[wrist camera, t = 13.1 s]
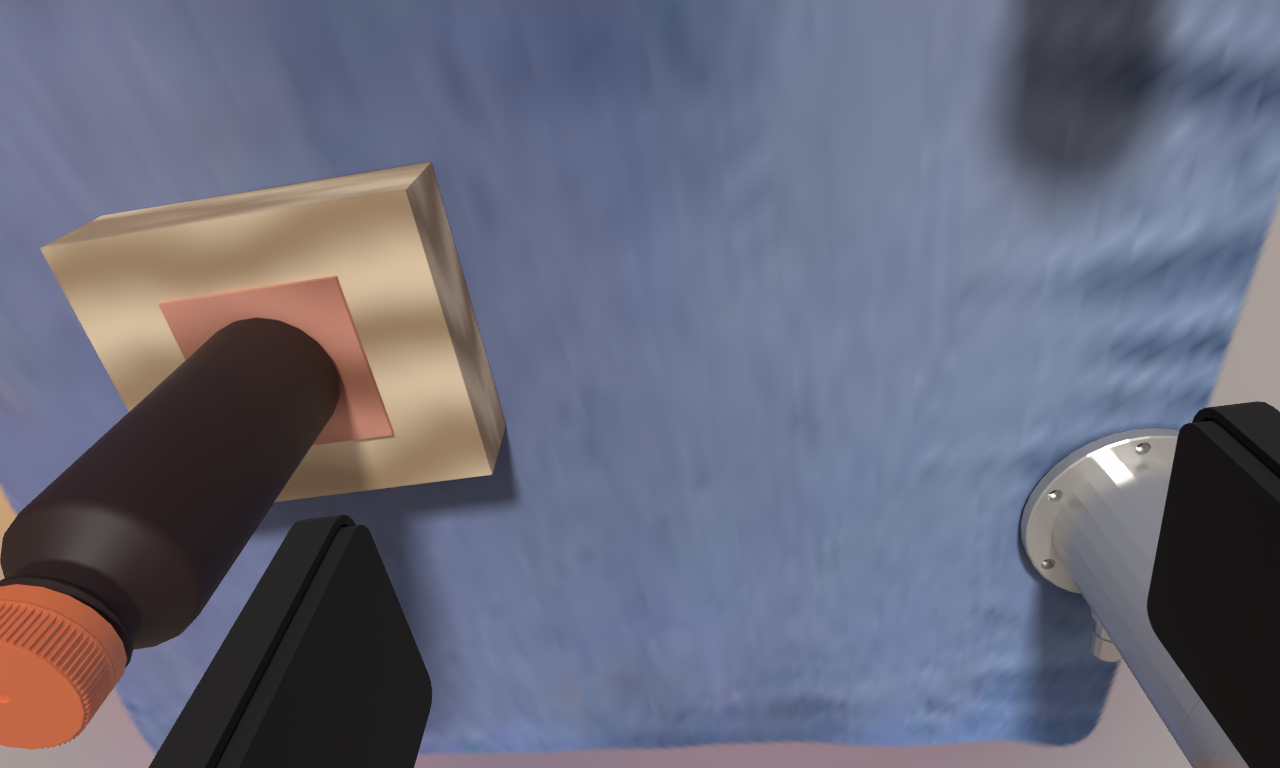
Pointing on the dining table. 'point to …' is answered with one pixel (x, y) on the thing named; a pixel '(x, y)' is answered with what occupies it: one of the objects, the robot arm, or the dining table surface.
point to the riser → (306, 314)
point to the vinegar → (151, 522)
